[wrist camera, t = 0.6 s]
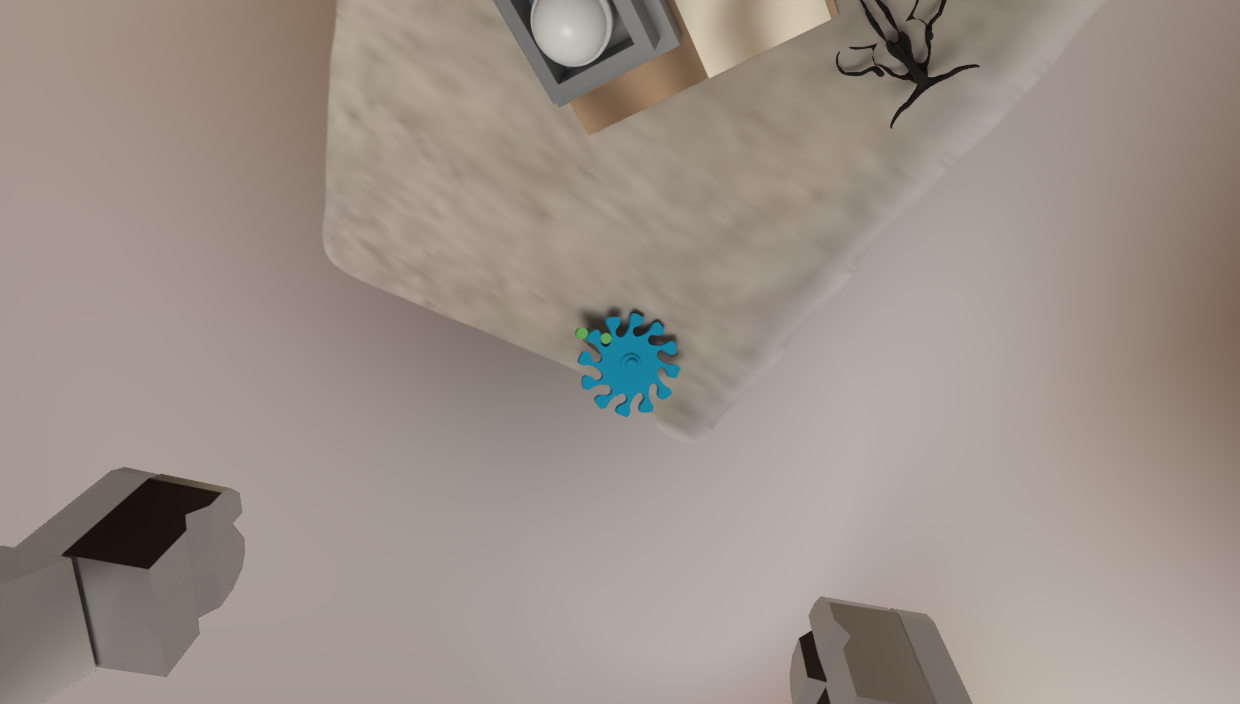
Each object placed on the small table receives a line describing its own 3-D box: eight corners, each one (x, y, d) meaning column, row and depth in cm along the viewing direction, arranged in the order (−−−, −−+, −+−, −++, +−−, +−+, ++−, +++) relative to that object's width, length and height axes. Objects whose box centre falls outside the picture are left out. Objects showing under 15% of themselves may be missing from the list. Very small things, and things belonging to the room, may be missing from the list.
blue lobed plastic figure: (701, 356, 66) (639, 438, 64) (682, 355, 71) (625, 430, 70) (615, 284, 64) (549, 367, 62) (602, 288, 69) (542, 365, 68)
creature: (816, 35, 48) (879, 124, 50) (810, 44, 44) (879, 141, 45) (919, -52, 44) (984, 49, 46) (924, -51, 40) (996, 61, 41)
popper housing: (617, -117, 43) (600, -104, 39) (683, 32, 48) (675, 59, 44) (494, -37, 47) (466, -17, 43) (567, 93, 53) (549, 123, 48)
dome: (591, -46, 42) (575, -29, 39) (630, 33, 45) (618, 55, 41) (525, -5, 45) (504, 14, 41) (565, 68, 47) (549, 92, 44)
